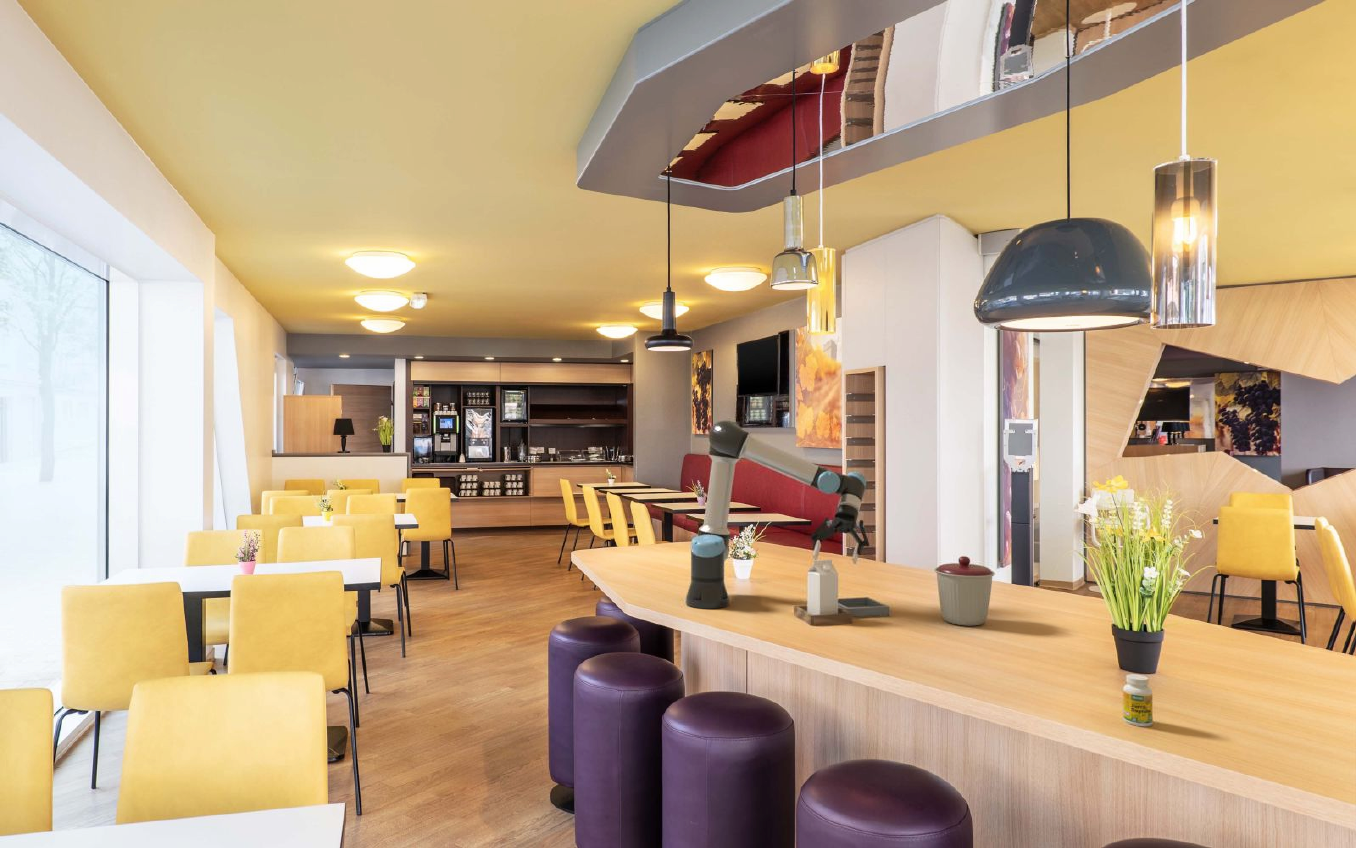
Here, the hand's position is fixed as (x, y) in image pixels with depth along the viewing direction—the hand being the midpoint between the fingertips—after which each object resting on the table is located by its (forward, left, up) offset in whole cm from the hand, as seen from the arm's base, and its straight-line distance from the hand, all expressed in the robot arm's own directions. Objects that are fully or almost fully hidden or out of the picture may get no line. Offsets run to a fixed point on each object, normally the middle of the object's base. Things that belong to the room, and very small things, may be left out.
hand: (834, 559), depth 265 cm
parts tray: (-1, +9, -18) cm, 20 cm away
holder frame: (+6, -7, -18) cm, 20 cm away
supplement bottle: (+105, +21, -18) cm, 109 cm away
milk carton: (+6, -7, -18) cm, 20 cm away
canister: (+20, +36, -18) cm, 45 cm away
